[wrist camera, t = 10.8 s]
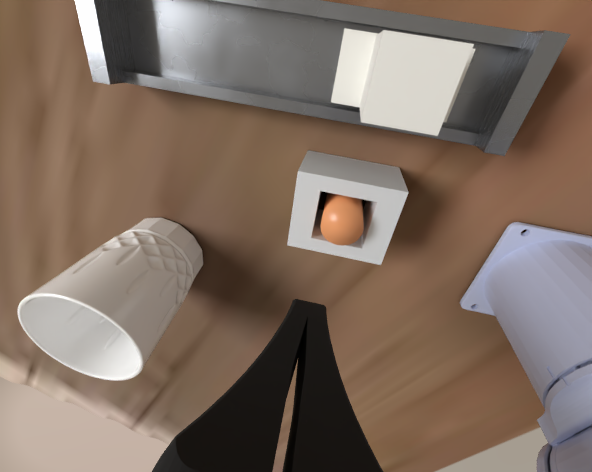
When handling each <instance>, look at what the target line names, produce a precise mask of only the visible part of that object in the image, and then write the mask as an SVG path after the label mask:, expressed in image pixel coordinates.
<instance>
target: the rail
mask: <svg viewBox="0 0 592 472" xmlns="http://www.w3.org/2000/svg"><path fill="white" fill-rule="evenodd" d="M75 3H76V8H77V12H78V16H79V21H80V25H81V30H82V34H83V39H84V43H85V48H86V52H87V57H88V61H89V66H90V70H91V74H92V79H93V81H94V82H99V83H105V84H117V83H130V84H135V85H141V86H147V87H152V88H158V89H163V90H169V91H174V92H180V93H186V94H191V95H197V96H202V97H208V98H213V99H219V100H224V101H230V102H236V103H241V104H247V105H252V106H258V107H263V108H269V109H274V110H280V111H286V112H291V113H297V114H302V115H308V116H313V117H319V118H324V119H330V120H336V121H341V122H347V123H352V124H358V125H363V126H369V127H374V128H380V129H386V130H391V131H397V132H402V133H408V134H413V135H419V136H425V137H430V138H436V139H441V140H447V141H452V142H458V143H463V144H469V145H475V146H477V147H478V148H479V149H481V150H482V151H483V152H486V153H491V154H497V155H502V156H505V154H506V152H507V150H508V148H509V147H510V145H511V143H512V141H513V139H514V137H515V136H516V134H517V132H518V130H519V128H520V126H521V125H522V123H523V121H524V119H525V117H526V115H527V113H528V112H529V110H530V108H531V106H532V104H533V102H534V101H535V99H536V97H537V95H538V93H539V91H540V89H541V88H542V86H543V84H544V82H545V80H546V78H547V77H548V75H549V73H550V71H551V69H552V67H553V65H554V64H555V62H556V60H557V58H558V56H559V54H560V53H561V51H562V49H563V47H564V45H565V43H566V41H567V40H568V38H569V36H570V34H565V33H558V32H552V31H545V30H544V31H535V32H525V31H519V30H512V29H506V28H499V27H492V26H486V25H479V24H473V23H466V22H459V21H453V20H446V19H440V18H433V17H426V16H420V15H413V14H407V13H400V12H394V11H387V10H380V9H374V8H367V7H361V6H354V5H347V4H341V3H334V2H328V1H321V0H75ZM344 28H346V29H352V30H359V31H365V32H371V33H378V34H379V33H380V32H382V31H383V30H387V31H394V32H400V33H407V34H413V35H419V36H426V37H432V38H439V39H445V40H451V41H458V42H464V43H471V44H474V46H473V49H475V52H474V54H473V57H472V59H471V62H470V64H469V67H468V69H467V72H466V74H465V77H464V79H463V82H462V84H461V87H460V89H459V92H458V94H457V97H456V99H455V102H454V104H453V107H452V109H451V112H450V114H449V117H448V119H447V122H443V124H442V126H441V129H440V131H439V134H438V136H435V135H429V134H424V133H418V132H413V131H407V130H401V129H396V128H390V127H385V126H379V125H373V124H368V123H362V122H361V118H360V107H354V106H349V105H343V104H337V103H332V102H331V98H332V93H333V87H334V82H335V77H336V71H337V66H338V60H339V55H340V50H341V44H342V39H343V34H344Z"/></svg>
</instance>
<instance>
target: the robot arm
mask: <svg viewBox="0 0 592 472" xmlns="http://www.w3.org/2000/svg"><path fill="white" fill-rule="evenodd" d="M525 229H527V231H526V232H524V233H521V232H522V231H523V230H525ZM460 304H461V307H462V308H463V309H466V310H471V311H475V312H480V313H485V314H489V315H494V316H496V318H497V320H498V322H499V324H500V325H501V327H502V329H503V331H504V333H505V335H506V337H507V339H508V341H509V342H510V344H511V346H512V348H513V350H514V352H515V354H516V356H517V357H518V359H519V361H520V363H521V365H522V367H523V369H524V371H525V372H526V374H527V376H528V378H529V380H530V382H531V384H532V386H533V387H534V389H535V391H536V393H537V395H538V397H539V399H540V401H541V403H542V404H543V406H544V408H545V413H544V414H543V415H542V416H541V417H540V418H539V419H538V420H537V421H538V423H539V425H540V427H541V429H542V431H543V433H544V435H545V437H546V439H547V441H548V443H547V444H546V445H545V446H543V447H542V449H541V450H540V452H539V454H538V458H537V472H592V236H587V235H582V234H577V233H572V232H567V231H562V230H556V229H551V228H546V227H541V226H536V225H531V224H526V223H521V222H515V223H512V224H510V225H509V226H508V227H507V228H506V230H505V232H504V233H503V235H502V236H501V238H500V240H499V241H498V243H497V244H496V246H495V247H494V249H493V251H492V252H491V254H490V255H489V257H488V258H487V260H486V262H485V263H484V265H483V266H482V268H481V269H480V271H479V273H478V274H477V276H476V277H475V279H474V280H473V282H472V284H471V285H470V287H469V288H468V290H467V291H466V293H465V295H464V296H463V298H462V299H461V301H460ZM474 304H476V305H474ZM472 305H474V306H472ZM297 360H298V366H297V376H296V386H295V396H294V407H293V415H292V422H291V428H290V433H289V439H288V444H287V450H286V455H285V461H284V466H283V472H383V471H382V469H381V467H380V465H379V463H378V461H377V459H376V457H375V456H374V454H373V452H372V450H371V448H370V446H369V444H368V442H367V440H366V437H365V435H364V433H363V431H362V429H361V427H360V425H359V422H358V420H357V418H356V416H355V414H354V411H353V409H352V406H351V404H350V401H349V399H348V396H347V393H346V391H345V388H344V385H343V382H342V380H341V377H340V373H339V370H338V367H337V364H336V360H335V356H334V353H333V348H332V344H331V340H330V335H329V330H328V324H327V315H326V307H325V306H324V305H321V304H316V303H312V302H307V301H303V300H298V299H295V300H293V302H292V305H291V307H290V309H289V311H288V313H287V315H286V317H285V319H284V321H283V322H282V324H281V326H280V327H279V329H278V330H277V332H276V333H275V335H274V336H273V338H272V339H271V341H270V342H269V343H268V345H267V346H266V347H265V349H264V350H263V351H262V353H261V354H260V355H259V356H258V358H257V359H256V360H255V361H254V363H253V364H252V365H251V366H250V367H249V368H248V370H247V371H246V372H245V373H244V374H243V375H242V376H241V377H240V378H239V379H238V380H237V381H236V383H235V384H234V385H233V386H232V387H231V388H230V389H229V390H228V391H227V392H226V393H225V394H224V395H223V396H222V397H220V398H219V399H218V400H217V401H216V402H215V403H214V404H213V405H212V406H211V407H210V408H209V409H208V410H206V411H205V412H204V413H203V414H202V415H201V416H200V417H198V418H197V419H196V420H195V421H194V422H192V423H191V424H190V425H189V426H187V427H186V428H185V429H184V430H183V431H181V432H180V433H179V434H178V435H177V436H176V437H175V438H174V439H173V441H172V442H171V443H170V445H169V446H168V447H167V449H166V450H165V451H164V453H163V454H162V456H161V457H160V459H159V460H158V462H157V464H156V465H155V467H154V469H153V471H152V472H272V470H273V465H274V459H275V454H276V449H277V444H278V438H279V433H280V428H281V423H282V418H283V413H284V407H285V402H286V398H287V394H288V391H289V387H290V384H291V380H292V377H293V373H294V370H295V366H296V363H297Z"/></svg>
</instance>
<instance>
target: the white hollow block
mask: <svg viewBox="0 0 592 472" xmlns="http://www.w3.org/2000/svg"><path fill="white" fill-rule="evenodd" d="M321 191H323V192H328V193H333V194H338V195H343V196H348V197H353V198H358V199H363V200H366V203H365V207H364V210H363V223H364V230H363V233H362V235H361V237H360V238H359V239H358V240H357V241H356V242H354V243H352V244H349V245H343V246H342V245H336V244H333V243H331V242H329V241H328V240H326V239H325V237H324V236H323V234H322V232H321V220H322V215H323V210H321V209H318V206H319V201H320V196H321ZM408 193H409V192H408V189H407V187H406V184H405V182H404V179H403V176H402V174H401V171H400V168H399V167H394V166H389V165H384V164H378V163H373V162H368V161H362V160H357V159H352V158H346V157H341V156H336V155H330V154H325V153H320V152H315V151H309V150H308V151H307V153H306V155H305V158H304V160H303V162H302V164H301V166H300V168H299V170H298V175H297V182H296V189H295V196H294V202H293V209H292V216H291V223H290V230H289V237H288V244H287V245H289V246H294V247H299V248H303V249H308V250H313V251H318V252H322V253H327V254H332V255H336V256H341V257H346V258H350V259H355V260H360V261H365V262H369V263H374V264H379V265H381V263H382V261H383V258H384V255H385V253H386V250H387V248H388V245H389V242H390V240H391V237H392V234H393V232H394V229H395V227H396V224H397V221H398V219H399V216H400V214H401V211H402V208H403V206H404V203H405V201H406V198H407V195H408Z"/></svg>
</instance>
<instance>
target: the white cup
mask: <svg viewBox="0 0 592 472" xmlns="http://www.w3.org/2000/svg"><path fill="white" fill-rule="evenodd" d="M202 266H203V254H202V249H201V247H200V246H199V244H198V242H197V241H196V239H195V237H194V236H193V235H192V234H191V233H190V232H188V231H187V230H186V229H185V228H183V227H182V226H181V225H180V224H178V223H175V222H172V221H170V220H167V219H164V218H145V219H144V220H142V221H141V222H139V223H138V224H136V225H134V226H133V227H132V228H130V229H129V230H127V231H126V232H124V233H122V234H120V235H117V236H115V237H114V238H113V239H111V240H110V241H108V242H107V243H105V244H103V245H101V246H100V247H98V248H97V249H96V250H94V251H93V252H91V253H90V254H88V255H87V256H85V257H84V258H83V259H81V260H80V261H78V262H77V263H75V264H74V265H72V266H71V267H69V268H68V269H66V270H65V271H63V272H62V273H61V274H59V275H58V276H56V277H55V278H53V279H52V280H50V281H49V282H47V283H46V284H44V285H43V286H42V287H40V288H39V289H37V290H36V291H34V292H33V293H31V294H30V295H28V296H27V297H25V298H24V299H23V300H22V301H21V302H20V304H19V306H18V318H19V321H20V323H21V325H22V327H23V329H24V330H25V332H26V333H27V335H28V336H29V337H30V338H31V339H32V340H33V342H34V343H35V344H36V345H38V346H39V347H40V348H41V349H42V350H43V351H45V352H46V353H47V354H48V355H50V356H51V357H53V358H54V359H56V360H57V361H59V362H61V363H62V364H64V365H66V366H68V367H70V368H72V369H74V370H76V371H78V372H81V373H83V374H86V375H89V376H92V377H96V378H100V379H105V380H114V381H120V380H127V379H131V378H133V377H135V376H137V375H138V374H139V373H140V372H141V370H142V369H143V367H144V365H145V364H146V362H147V361H148V359H149V357H150V356H151V354H152V352H153V351H154V349H155V347H156V346H157V344H158V342H159V341H160V339H161V338H162V336H163V334H164V333H165V331H166V329H167V328H168V326H169V324H170V323H171V321H172V319H173V318H174V316H175V314H176V313H177V311H178V310H179V308H180V306H181V305H182V303H183V301H184V299H185V297H186V295H187V294H188V292H189V290H190V286H191V285H192V283H193V281H194V279H195V278H196V276H197V275H198V273H199V271H200V269H201V268H202Z"/></svg>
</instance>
